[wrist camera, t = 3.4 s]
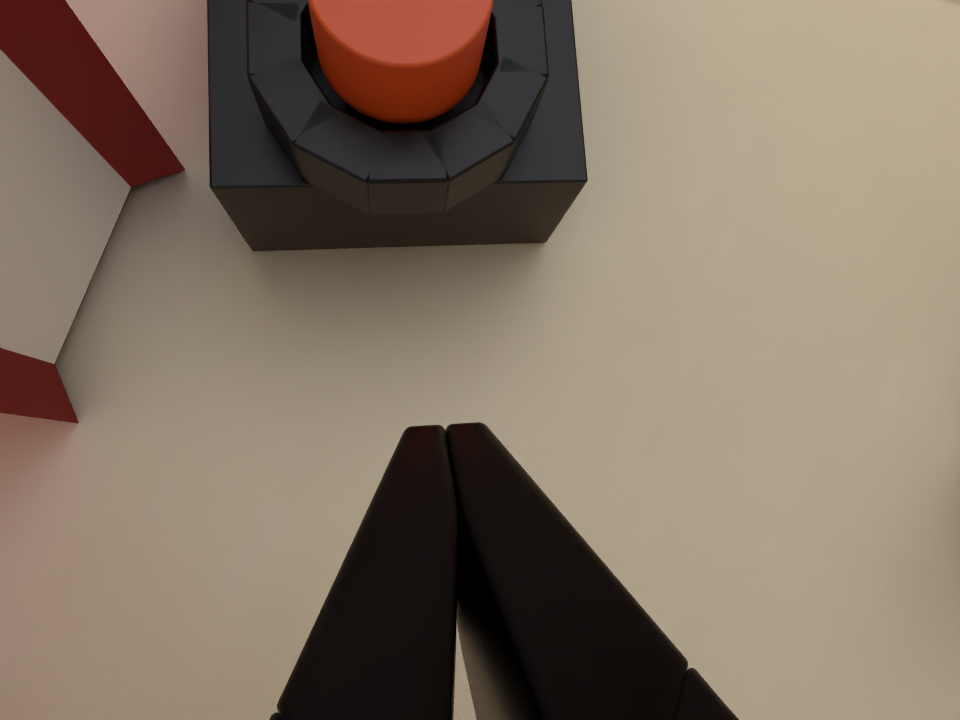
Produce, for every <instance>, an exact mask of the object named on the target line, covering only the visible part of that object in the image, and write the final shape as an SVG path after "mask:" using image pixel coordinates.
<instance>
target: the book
mask: <svg viewBox="0 0 960 720" xmlns="http://www.w3.org/2000/svg"><path fill="white" fill-rule="evenodd" d="M183 170H185V169H184V167H183V166H182V164H181V163H180V162H179V160H178V159H177V157H176V156H175V155H174V153H173V152H172V150H171V149H170V148H169V146H168V145H167V143H166V142H165V140H164V139H163V138H162V136H161V135H160V133H159V132H158V131H157V129H156V128H155V126H154V125H153V124H152V122H151V121H150V119H149V118H148V116H147V115H146V114H145V112H144V111H143V109H142V108H141V107H140V105H139V104H138V102H137V101H136V100H135V98H134V97H133V95H132V94H131V93H130V91H129V90H128V88H127V87H126V85H125V84H124V83H123V81H122V80H121V78H120V77H119V76H118V74H117V73H116V71H115V70H114V69H113V67H112V66H111V64H110V63H109V62H108V60H107V59H106V57H105V56H104V54H103V53H102V52H101V50H100V49H99V47H98V46H97V45H96V43H95V42H94V40H93V39H92V38H91V36H90V35H89V33H88V32H87V30H86V29H85V28H84V26H83V25H82V23H81V22H80V21H79V19H78V18H77V16H76V15H75V14H74V12H73V11H72V9H71V8H70V7H69V5H68V4H67V2H66V1H65V0H0V413H7V414H14V415H22V416H29V417H36V418H44V419H51V420H58V421H66V422H73V423H78V420H77V418H76V415H75V413H74V410H73V408H72V406H71V403H70V401H69V398H68V396H67V393H66V391H65V388H64V386H63V384H62V381H61V379H60V376H59V374H58V371H57V369H56V366H55V362H56V359H57V357H58V355H59V353H60V350H61V348H62V346H63V343H64V341H65V339H66V336H67V334H68V332H69V329H70V327H71V325H72V323H73V320H74V318H75V316H76V313H77V311H78V309H79V306H80V304H81V302H82V299H83V297H84V295H85V293H86V290H87V288H88V286H89V283H90V281H91V279H92V276H93V274H94V272H95V269H96V267H97V265H98V263H99V260H100V258H101V256H102V253H103V251H104V249H105V246H106V244H107V242H108V239H109V237H110V235H111V233H112V230H113V228H114V226H115V223H116V221H117V219H118V216H119V214H120V212H121V209H122V207H123V205H124V203H125V200H126V198H127V196H128V193H129V191H130V189H131V187H134V186H137V185H140V184H143V183H146V182H149V181H152V180H155V179H158V178H161V177H165V176H168V175H171V174H174V173H177V172H180V171H183Z"/></svg>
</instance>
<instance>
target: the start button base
mask: <svg viewBox="0 0 960 720" xmlns="http://www.w3.org/2000/svg"><path fill="white" fill-rule="evenodd" d="M207 23H208V93H209V164H210V188H211V189H212V191H213V192H214V194H215V195H216V197H217V199H218V200H219V202H220V203H221V205H222V206H223V208H224V209H225V211H226V212H227V214H228V215H229V217H230V218H231V220H232V221H233V223H234V224H235V226H236V227H237V229H238V230H239V232H240V233H241V235H242V236H243V238H244V239H245V241H246V242H247V244H248V245H249V247H250V248H251V250H253V251H266V250H301V249H336V248H371V247H406V246H441V245H476V244H511V243H545V242H546V241H547V240H548V238H549V237H550V235H551V234H552V233H553V231H554V230H555V228H556V227H557V225H558V224H559V222H560V221H561V219H562V218H563V216H564V215H565V213H566V212H567V210H568V209H569V207H570V206H571V204H572V203H573V201H574V200H575V198H576V197H577V195H578V194H579V192H580V191H581V190H582V188H583V187H584V185H585V184H586V182H587V169H586V158H585V147H584V136H583V125H582V113H581V102H580V91H579V80H578V69H577V58H576V47H575V36H574V25H573V14H572V3H571V0H494V1H493V7H492V11H491V16H490V21H489V25H488V30H487V35H486V40H485V44H484V49H483V54H482V59H481V63H480V68H479V71H478V74H477V77H476V79H475V82H474V84H473V86H472V87H471V89H470V90H469V92H468V93H467V94H466V96H465V97H464V98H463V99H462V100H461V101H460V102H459V103H458V104H457V105H456V106H454V107H453V108H452V109H450V110H449V111H447V112H446V113H444V114H442V115H440V116H438V117H436V118H433V119H430V120H427V121H423V122H418V123H409V124H399V123H389V122H384V121H380V120H377V119H374V118H371V117H369V116H366V115H364V114H362V113H360V112H359V111H357V110H355V109H354V108H352V107H351V106H350V105H348V104H347V103H346V102H344V101H343V100H342V99H341V98H340V97H339V96H338V95H337V94H336V92H335V91H334V90H333V88H332V87H331V86H330V84H329V83H328V81H327V79H326V78H325V76H324V73H323V71H322V69H321V66H320V62H319V58H318V54H317V48H316V43H315V38H314V32H313V27H312V22H311V17H310V11H309V6H308V1H307V0H207Z"/></svg>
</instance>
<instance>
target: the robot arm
mask: <svg viewBox="0 0 960 720" xmlns="http://www.w3.org/2000/svg"><path fill="white" fill-rule="evenodd" d="M456 622H457V626H458V632H459V638H460V643H461V649H462V654H463V658H464V663H465V668H466V672H467V677H468V682H469V686H470V691H471V695H472V700H473V705H474V709H475V714H476V719H477V720H739V719H738V718H737V717H736V716H735V715H734V714H733V713H732V711H731V710H730V709H729V708H728V707H727V706H726V705H725V704H724V703H723V701H722V700H721V699H720V698H719V697H718V695H717V694H716V693H715V692H714V691H713V690H712V688H711V687H710V686H709V685H708V684H707V682H706V681H705V680H704V679H703V678H702V677H701V675H700V674H699V673H698V672H697V671H696V670H695V669H694V668H689V669H688V670H687V667H688V661H687V660H686V658H685V657H684V656H683V655H682V654H681V652H680V651H679V650H678V649H677V648H676V647H675V645H674V644H673V643H672V642H671V641H670V640H669V638H668V637H667V636H666V635H665V634H664V633H663V631H662V630H661V629H660V628H659V627H658V626H657V624H656V623H655V622H654V621H653V620H652V619H651V617H650V616H649V615H648V614H647V613H646V612H645V610H644V609H643V608H642V607H641V606H640V605H639V603H638V602H637V601H636V600H635V599H634V597H633V596H632V595H631V594H630V593H629V592H628V590H627V589H626V588H625V587H624V586H623V585H622V583H621V582H620V581H619V580H618V579H617V578H616V576H615V575H614V574H613V573H612V572H611V571H610V569H609V568H608V567H607V566H606V565H605V564H604V562H603V561H602V560H601V559H600V558H599V557H598V555H597V554H596V553H595V552H594V551H593V550H592V548H591V547H590V546H589V545H588V544H587V543H586V541H585V540H584V539H583V538H582V537H581V536H580V534H579V533H578V532H577V531H576V530H575V529H574V527H573V526H572V525H571V524H570V523H569V522H568V520H567V519H566V518H565V517H564V516H563V515H562V513H561V512H560V511H559V510H558V509H557V507H556V506H555V505H554V504H553V503H552V502H551V500H550V499H549V498H548V497H547V496H546V495H545V493H544V492H543V491H542V490H541V489H540V488H539V486H538V485H537V484H536V483H535V482H534V481H533V479H532V478H531V477H530V476H529V475H528V474H527V472H526V471H525V470H524V469H523V468H522V467H521V465H520V464H519V463H518V462H517V461H516V460H515V458H514V457H513V456H512V455H511V454H510V453H509V451H508V450H507V449H506V448H505V447H504V446H503V444H502V443H501V442H500V441H499V440H498V439H497V437H496V436H495V435H494V434H493V433H492V432H491V430H490V429H489V428H488V427H487V426H486V425H485V424H483V423H479V422H476V423H460V424H450V425H449V426H447V428H446V430H445V429H444V428H443V427H442V426H441V425H427V426H411V427H408V428H407V429H406V430H405V431H404V432H403V434H402V436H401V439H400V441H399V443H398V445H397V447H396V449H395V452H394V454H393V456H392V458H391V460H390V462H389V464H388V467H387V469H386V471H385V473H384V475H383V477H382V480H381V482H380V484H379V486H378V488H377V490H376V492H375V495H374V497H373V499H372V501H371V503H370V505H369V508H368V510H367V512H366V514H365V516H364V518H363V520H362V523H361V525H360V527H359V529H358V531H357V533H356V536H355V538H354V540H353V542H352V544H351V546H350V548H349V551H348V553H347V555H346V557H345V559H344V561H343V564H342V566H341V568H340V570H339V572H338V574H337V576H336V579H335V581H334V583H333V585H332V587H331V589H330V592H329V594H328V596H327V598H326V600H325V602H324V604H323V607H322V609H321V611H320V613H319V615H318V617H317V620H316V622H315V624H314V626H313V628H312V630H311V633H310V635H309V637H308V639H307V641H306V643H305V645H304V648H303V650H302V652H301V654H300V656H299V658H298V661H297V663H296V665H295V667H294V669H293V671H292V673H291V676H290V678H289V680H288V682H287V684H286V686H285V689H284V691H283V693H282V695H281V697H280V699H279V701H278V704H277V710H278V713H274V714H273V715H272V716H271V718H270V720H453V716H454V687H455V658H456Z"/></svg>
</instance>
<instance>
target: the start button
mask: <svg viewBox="0 0 960 720" xmlns="http://www.w3.org/2000/svg"><path fill="white" fill-rule="evenodd" d="M307 1H308V6H309V11H310V17H311V22H312V27H313V32H314V38H315V43H316V48H317V54H318V58H319V62H320V66H321V69H322V71H323V73H324V76H325V78H326V79H327V81H328V83H329V84H330V86H331V87H332V88H333V90H334V91H335V92H336V94H337V95H338V96H339V97H340V98H341V99H342V100H343V101H344V102H346V103H347V104H348V105H350V106H351V107H352V108H354V109H355V110H357V111H359V112H360V113H362V114H364V115H366V116H369V117H371V118H374V119H377V120H380V121H384V122H389V123H399V124H409V123H418V122H423V121H427V120H430V119H433V118H436V117H438V116H440V115H442V114H444V113H446V112H447V111H449V110H450V109H452V108H453V107H454V106H456V105H457V104H458V103H459V102H460V101H461V100H462V99H463V98H464V97H465V96H466V94H467V93H468V92H469V90H470V89H471V87H472V86H473V84H474V82H475V79H476V77H477V74H478V71H479V68H480V63H481V59H482V54H483V49H484V44H485V40H486V35H487V30H488V25H489V21H490V16H491V11H492V7H493V1H494V0H307Z"/></svg>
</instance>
